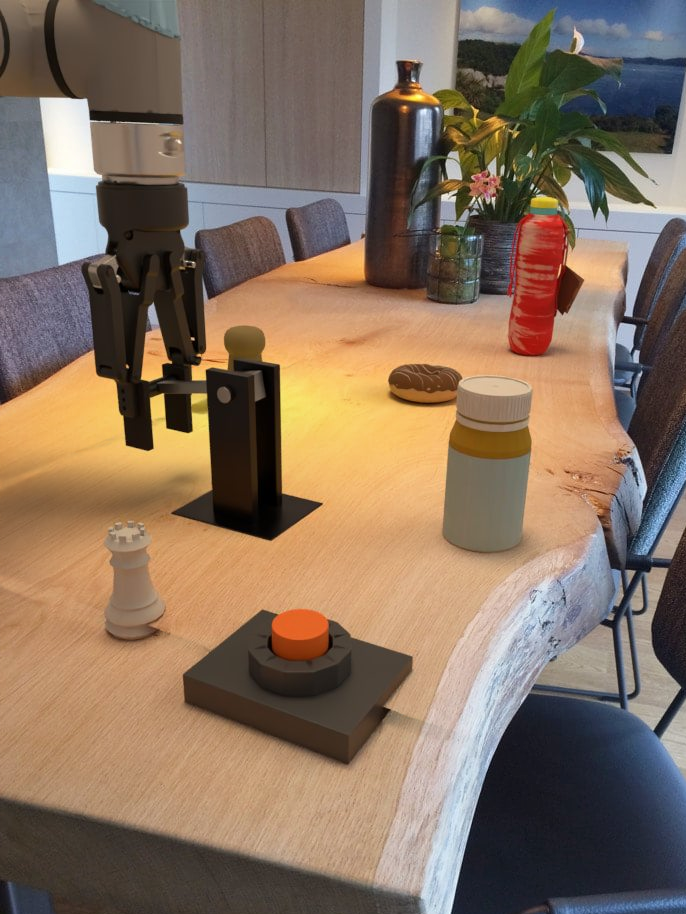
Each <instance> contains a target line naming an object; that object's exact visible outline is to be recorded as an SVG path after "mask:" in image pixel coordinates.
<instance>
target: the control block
mask: <svg viewBox="0 0 686 914" xmlns="http://www.w3.org/2000/svg"><path fill="white" fill-rule="evenodd" d="M279 614H280V613H276V612H272V611H269V610H265V609H261V610H259V611H258V612H257V613H256V614H254V615H253V616H252V617H251V618H250V619H249V620H247V621H246V622H245V623H243V624H242V625H241V626H240V627H239V628H237V629H236V630H235V631H234V632H233V633H231V634H230V635H229V636H228V637H226V638H225V639H224V640H223V641H222V642H221V643H219V644H218V645H216V647H214V648H213V649H212V650H211V651H209V652H208V653H207V654H206V655H205V656H203V657H202V658H201V659H200V660H199V661H197V662H196V663H195V664H193V665H192V666H191V667H190V668H188V669H187V670H186V671H185V672H184V673H182V685H183V699H184V703H186V704H190V705H192V706H194V707H197V708H199V709H202V710H205V711H206V712H210V713H213V714H216V715H217V716H220V717H223V718H226V719H228V720H230V721H233V722H236V723H239V724H241V725H243V726H246V727H250V728H252V729H254V730H257V731H260V732H262V733H265V734H267V735H270V736H273V737H274V738H278V739H280V740H283V741H285V742H288V743H291V744H293V745H296V746H298V747H301V748H304V749H306V750H308V751H312V752H314V753H317V754H320V755H322V756H324V757H327V758H330V759H332V760H335V761H337V762H339V763H340V762H341V763H343V764H346V765H349V764H350V763H351V762H352V760H353V759H354V757H356V755H357V754H358V752H359V751H360V750H361V749H362V747H363V746H364V745H365V743H366V742H367V741H368V739H370V737H371V736H372V735H373V733H374V732H375V731H376V730H377V728H378V727H379V726H380V724H381V723H383V720H384V719H385V718H386V716H388V714H389V713H390V712H391V710H392V709H391V708H389V707H386V706H385V705H386V704H387V702H388V701H389V700H390V698H391V697H392V696H393V694H394V693H395V692H396V691H397V689H398V688H399V687H400V686H401V684H402V683H403V682H404V681H405V680H406V678H407V677H408V675H409V674H411V672H412V671H413V664H414V663H413V661H414V657H413V656H412V655H410V654H406V653H404V652H400V651H397V650H394V649H390V648H387V647H383V646H380V645H377V644H374V643H371V642H368V641H364V640H361V639H358V638H355V637H352V636H351V633H350V632H349V631H348V630H346V628H345V627H343V626H342V625H341V624H340V623H339V622H338V621H335V620H332V619H329V618H327V620H328V623H329V641H328V650H327V652H326V653H325V654H324V655H323V656H321V657H318V658H315V659H312V660H309V661H288V660H285V659H282V658H280V657H277V656H276V655H275V654H274V652H273V650H272V622H273V620H274V618H275V617H276V616H278V615H279Z"/></svg>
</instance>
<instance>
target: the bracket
mask: <svg viewBox="0 0 686 914" xmlns="http://www.w3.org/2000/svg"><path fill="white" fill-rule="evenodd" d="M233 366H234V371H230V370H228V369H224V368H218V367H214V366H212V367H209V368H207V369H205V380H206V388H207V394H206V405H207V420H208V421H207V422H208V440H209V441H208V442H209V443H208V444H209V456H210V457H209V458H210V459H209V460H210V478H211V489H210V490H209V491H207V492H205V493H204V494H201V495H200V496H198V497H196V498H194V499H193V500H191V501H189V502H187V503H185V504H184V505H182V506H180V507H178V508H177V509H174V510H173V511H171V512H170V515H174V516H177V517H181V518H185V519H189V520H191V521H196V522H199V523H203V524H207V525H210V526H214V527H217V528H221V529H225V530H228V531H233V532H236V533H240V534H243V535H247V536H251V537H255V538H257V539H261V540H266V541H269V542H273V541H274V540H275V539H276V538H278V537H279V536H281V535H282V534H284V533H285V532H286V531H288V530H289V529H291V528H292V527H294V526H295V525H296V524H298V523H299V522H300V521H301V520H303V519H304V518H306V517H307V516H309V515H310V514H311V513H313V512H315V511H316V510H317V509H319V508H320V507H321V506H323V505H324V503H323V502H319V501H316V500H312V499H308V498H303V497H299V496H296V495H291V494H287V493H283V467H282V465H283V464H282V463H283V461H282V458H283V457H282V456H283V455H282V409H281V408H282V407H281V406H282V404H281V401H282V399H281V364H279V363H273V362H267V361H263V360H262V361H256V360H250V359H245V358H237V359H234V360H233ZM236 371H262V376H263V382H264V388H265V394H266V397H265V398H262V399H260V400H258V401H256V402H255V382H254V375H253V374H247V373H242V372H236Z"/></svg>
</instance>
